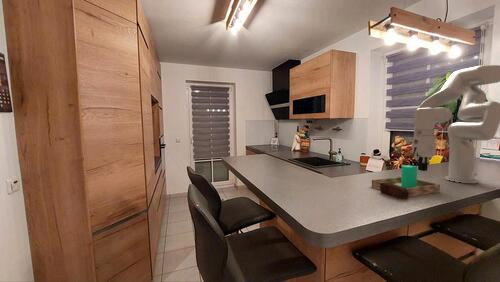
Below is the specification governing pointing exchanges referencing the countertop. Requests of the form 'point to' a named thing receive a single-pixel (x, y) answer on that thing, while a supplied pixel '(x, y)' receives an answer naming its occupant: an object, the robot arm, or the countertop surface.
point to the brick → (394, 190)
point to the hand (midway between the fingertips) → (422, 170)
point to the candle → (409, 176)
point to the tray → (421, 188)
